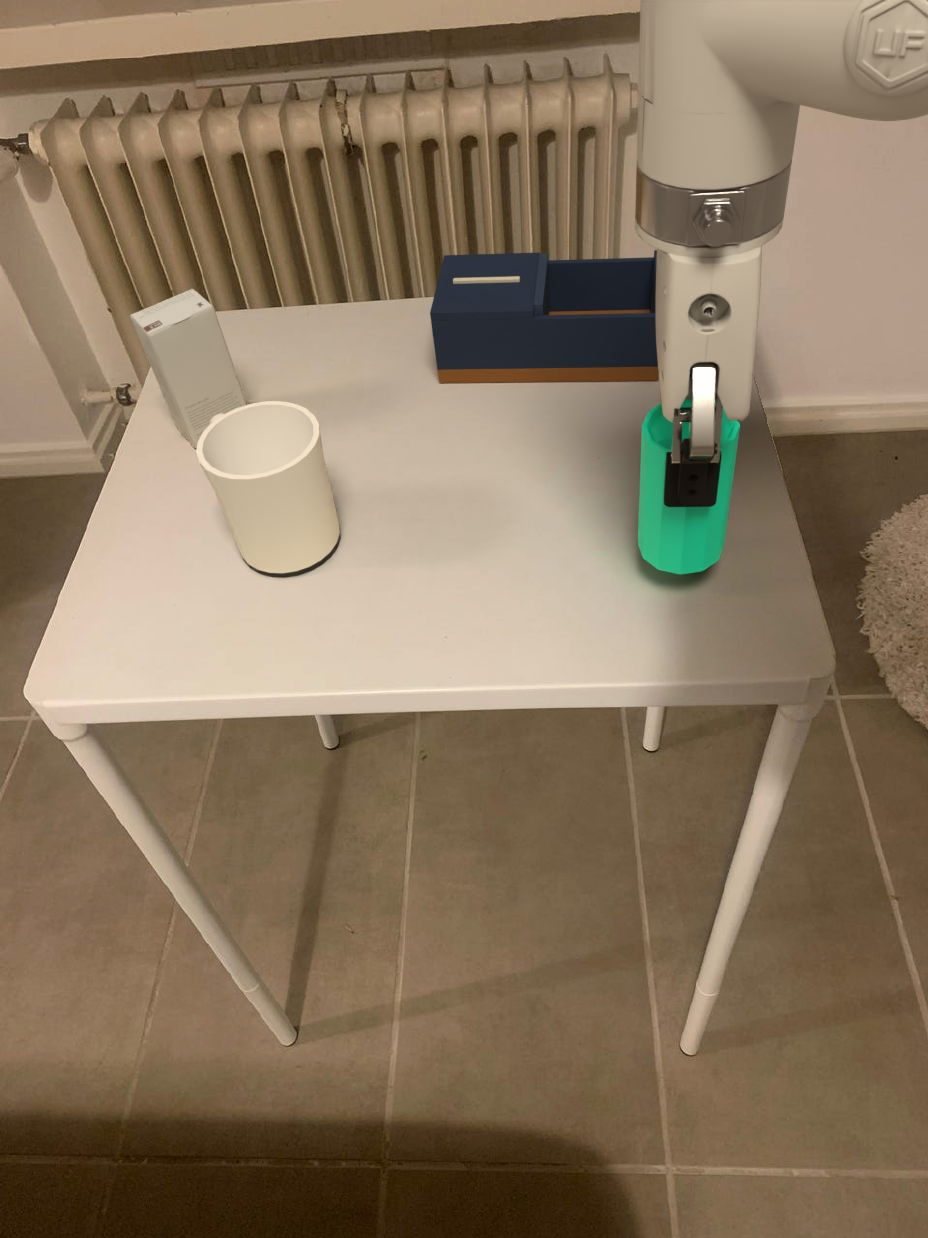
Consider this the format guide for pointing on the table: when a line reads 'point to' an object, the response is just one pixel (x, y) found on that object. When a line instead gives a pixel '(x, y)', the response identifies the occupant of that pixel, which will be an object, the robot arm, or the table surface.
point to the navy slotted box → (544, 319)
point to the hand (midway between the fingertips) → (687, 467)
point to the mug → (272, 485)
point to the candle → (681, 532)
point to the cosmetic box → (189, 361)
